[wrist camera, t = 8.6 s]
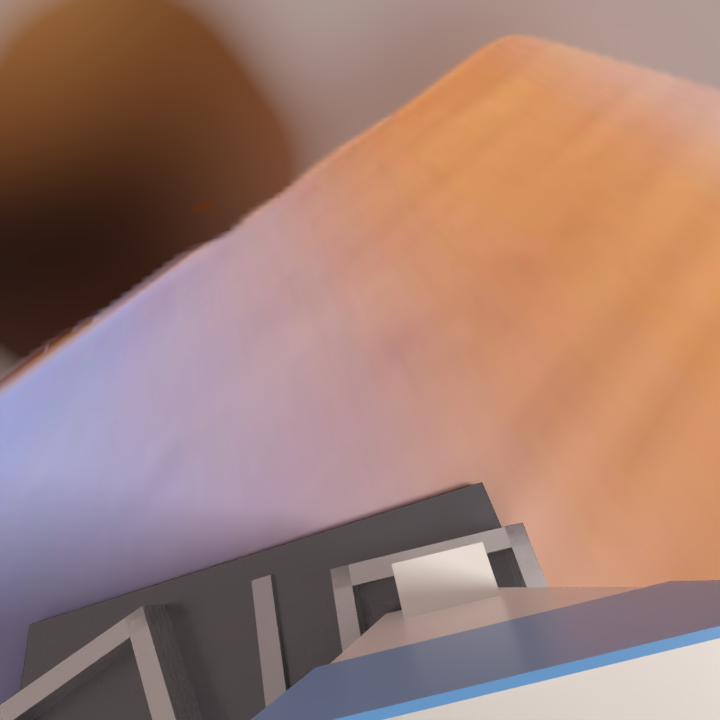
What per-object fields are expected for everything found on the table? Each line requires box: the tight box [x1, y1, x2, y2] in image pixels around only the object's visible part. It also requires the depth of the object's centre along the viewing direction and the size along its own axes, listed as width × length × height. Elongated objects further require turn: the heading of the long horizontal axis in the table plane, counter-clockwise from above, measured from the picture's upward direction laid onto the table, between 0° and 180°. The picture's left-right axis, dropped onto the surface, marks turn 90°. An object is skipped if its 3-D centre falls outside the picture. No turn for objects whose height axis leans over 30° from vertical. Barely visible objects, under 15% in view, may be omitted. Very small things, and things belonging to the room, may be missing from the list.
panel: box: [21, 482, 516, 720], centre depth 14 cm, size 20×11×1 cm, turn 106°
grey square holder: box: [330, 522, 548, 652], centre depth 14 cm, size 7×7×2 cm
